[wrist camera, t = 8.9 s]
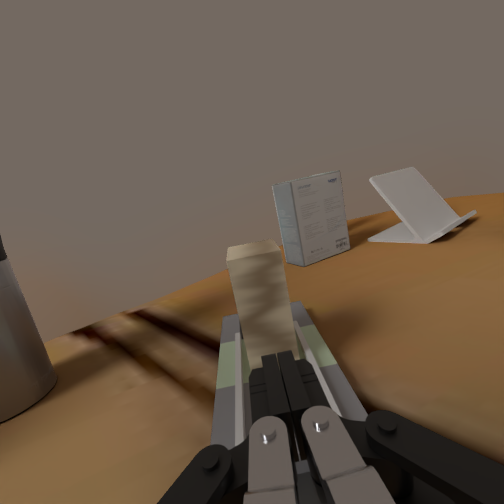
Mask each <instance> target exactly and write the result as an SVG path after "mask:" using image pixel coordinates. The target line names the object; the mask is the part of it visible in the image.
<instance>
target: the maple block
mask: <svg viewBox="0 0 504 504" xmlns="http://www.w3.org/2000/svg"><path fill="white" fill-rule="evenodd" d="M226 262H227V266H228V271H229V275H230V280H231V284H232V289H233V293H234V297H235V302H236V306H237V311H238V315H239V320H240V324H241V329H242V333H243V338H244V342H245V347H246V351H247V356H248V360H249V365H250V369H251V371H252V369H256V368H261V367H263V365H262V359H261V356H264V355H269V354H274V353H276V357H277V353H278V352H283V351H288V350H291V351H292V353H293V356H294V359H295V360H299V359H300V358H299V352H298V347H297V341H296V335H295V329H294V324H293V318H292V312H291V306H290V301H289V295H288V289H287V283H286V278H285V272H284V266H283V260H282V255H281V250H280V248H279V247H278V246H277V245H276V243H275V242H274V241H273V239H268V240H263V241H258V242H254V243H248V244H243V245H239V246H234V247H229V248H228V252H227V260H226ZM277 361H278V358H277ZM278 365H279V363H278Z"/></svg>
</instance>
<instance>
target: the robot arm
mask: <svg viewBox="0 0 504 504" xmlns="http://www.w3.org/2000/svg"><path fill="white" fill-rule="evenodd" d="M277 358H278V361H277ZM261 359H262V365H263V367H261V368H256V369H252V371H251V373H250V376H249V390H250V403H251V416H252V427H251V429H250V432H249V435H248V436H247V438H246V439H245V440H244V441H243V442H242V443H240V444H239V445H237V446H235V447H233V448H232V449H230V450H228V449H227V448H226V447H225V446H223V445H220V444H213V445H209V446H207V447H205V448H203V449H202V450H201V451H200V452H199V453H198V454H197V455H196V456H195V457H194V458H193V460H192V461H191V462H190V463H189V465H188V466H187V467H186V468H185V470H184V471H183V472H182V473H181V475H180V476H179V477H178V478H177V479H176V481H175V482H174V483H173V484H172V486H171V487H170V488H169V489H168V491H167V492H166V493H165V494H164V496H163V497H162V498H161V499H160V501H159V502H158V503H157V504H300V497H299V490H298V484H297V482H298V475H297V469H296V464H295V462H299V456H298V451H297V446H298V450H299V454H300V458H301V461H303V460H307V462H308V466H309V470H310V475H311V481H312V485H313V487H314V490H315V493H316V496H317V499H318V502H319V504H504V466H503V465H501V464H499V463H497V462H495V461H493V460H491V459H489V458H487V457H485V456H483V455H480V454H478V453H476V452H474V451H472V450H470V449H468V448H466V447H464V446H462V445H460V444H458V443H456V442H454V441H451V440H449V439H447V438H445V437H443V436H441V435H439V434H437V433H435V432H433V431H431V430H429V429H427V428H425V427H422V426H420V425H418V424H416V423H414V422H412V421H410V420H408V419H406V418H404V417H402V416H400V415H398V414H396V413H393V412H390V411H386V410H377V411H374V412H371V413H370V414H369V415H368V416H367V417H366V420H365V421H355V420H349V419H345V418H343V417H341V416H339V415H338V414H337V413H336V412H335V411H334V410H332V408H331V406H330V404H329V402H328V400H327V398H326V395H325V393H324V391H323V389H322V386H321V384H320V382H319V380H318V377H317V375H316V373H315V370H314V368H313V366H312V364H311V363H309V362H308V361H307V360H306V359H305V358H304V359H299V360H295V359H294V356H293V353H292V351H291V350H288V351H283V352H278V353H277V357H276V353H274V354H269V355H264V356H261ZM278 363H279V365H278ZM56 381H57V376H56V374H55V371H54V369H53V366H52V364H51V361H50V359H49V357H48V354H47V351H46V349H45V346H44V344H43V342H42V339H41V337H40V334H39V332H38V329H37V327H36V325H35V322H34V320H33V317H32V315H31V313H30V310H29V308H28V305H27V303H26V301H25V298H24V296H23V293H22V291H21V288H20V286H19V284H18V281H17V279H16V277H15V274H14V272H13V269H12V267H11V264H10V262H9V260H8V258H7V255H6V253H5V250H4V247H3V244H2V240H1V236H0V422H2V421H5V420H7V419H9V418H11V417H13V416H15V415H17V414H19V413H20V412H22V411H24V410H25V409H27V408H29V407H30V406H32V405H33V404H34V403H36V402H37V401H39V400H40V399H41V398H42V397H44V396H45V395H46V394H47V393H48V392H49V391H50V390H51V389H52V387H53V386H54V385H55V383H56ZM294 434H295V435H294ZM295 438H296V440H295ZM296 442H297V445H296Z"/></svg>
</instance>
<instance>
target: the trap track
mask: <svg viewBox="0 0 504 504" xmlns="http://www.w3.org/2000/svg"><path fill="white" fill-rule="evenodd" d="M290 306H291V312H292V318H293V324H294V329H295V335H296V341H297V347H298V352H299V358H300V359H304V358H305V359H306V360H307V361H308V362H309V363H311V364H312V366H313V368H314V370H315V373H316V375H317V377H318V380H319V382H320V384H321V386H322V389H323V391H324V393H325V395H326V398H327V400H328V402H329V404H330V406H331V408H332V410H334V411H335V412H336V413H337V414H338V415H339V416H341V417H343V418H345V419H349V420H355V421H365V420H366V417H367V416H368V414H367V413H366V411H365V409H364V408H363V406H362V404H361V402H360V401H359V399H358V397H357V396H356V394H355V392H354V391H353V389H352V387H351V386H350V384H349V382H348V381H347V379H346V377H345V375H344V374H343V372H342V370H341V369H340V367H339V365H338V364H337V362H336V360H335V359H334V357H333V355H332V354H331V352H330V350H329V348H328V347H327V345H326V343H325V342H324V340H323V338H322V337H321V335H320V333H319V332H318V330H317V328H316V327H315V325H314V323H313V321H312V320H311V318H310V316H309V315H308V313H307V311H306V310H305V308H304V306H303V305H302V303H301V301H297V302H292V303H290ZM250 373H251V369H250V365H249V360H248V356H247V351H246V347H245V342H244V338H243V333H242V329H241V324H240V320H239V315H238V314H234V315H229V316H224V317H223V322H222V332H221V342H220V352H219V363H218V373H217V383H216V393H215V404H214V414H213V424H212V434H211V444H210V445H213V444H220V445H223V446H225V447H226V448H227V449H228V450H230V449H232V448H233V447H235V446H237V445H239V444H240V443H242V442H243V441H244V440H245V439H246V438H247V436H248V435H249V432H250V429H251V427H252V416H251V403H250V390H249V376H250ZM294 435H295V434H294ZM295 440H296V438H295ZM296 445H297V442H296ZM297 451H298V456H299V462H295V464H296V469H297V475H298V482H297V484H298V490H299V497H300V504H319V502H318V499H317V496H316V493H315V490H314V487H313V485H312V481H311V475H310V470H309V466H308V462H307V460H303V461H301V458H300V454H299V450H298V446H297Z"/></svg>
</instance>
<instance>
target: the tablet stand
mask: <svg viewBox="0 0 504 504" xmlns="http://www.w3.org/2000/svg"><path fill="white" fill-rule="evenodd" d="M369 181H370V182H371V184H372V185H373V186H374V188H375V189H376V190H377V191H378V192H379V194H380V195H381V196H382V197H383V198H384V200H385V201H386V202H387V203H388V205H390V207H391V208H392V209H393V211H394V212H395V213H396V214H397V215H398V217H399V218H400V219H401V220H402V221H403V222H401V223H399V224H397V225H395V226H393V227H391V228H388V229H386V230H384V231H382V232H380V233H378V234H376V235H374V236H372V237H370V238H368V241H373V242H400V243H426V244H428V243H430V242H432V241H434V240H435V239H437V238H439V237H441V236H443V235H444V234H446V233H447V232H449V231H450V230H452V229H453V228H455V227H456V226H458V225H459V224H461V223H462V222H464V221H465V220H467V219H468V218H470V217H471V216H473V215H474V214H476V213H477V212H476V211H475V210H473V211H471V212H470V213H468V214H466V215H465V216H463V217H461V218H460V217H459V216H458V215H457V214H456V213H455V212H454V211H453V209H452V208H451V207H450V206H449V205H448V204H447V203H446V202H445V201H444V199H443V198H442V197H441V196H440V195H439V194H438V193H437V192H436V191H435V190H434V188H433V187H432V186H431V185H430V184H429V183H428V182H427V181H426V180H425V178H424V177H423V176H422V175H421V174H420V173H419V172H418V171H417V170H416V169H415V168H414V167H410V168H405V169H401V170H397V171H393V172H389V173H385V174H382V175H377V176H373V177H371V178H370V179H369Z"/></svg>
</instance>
